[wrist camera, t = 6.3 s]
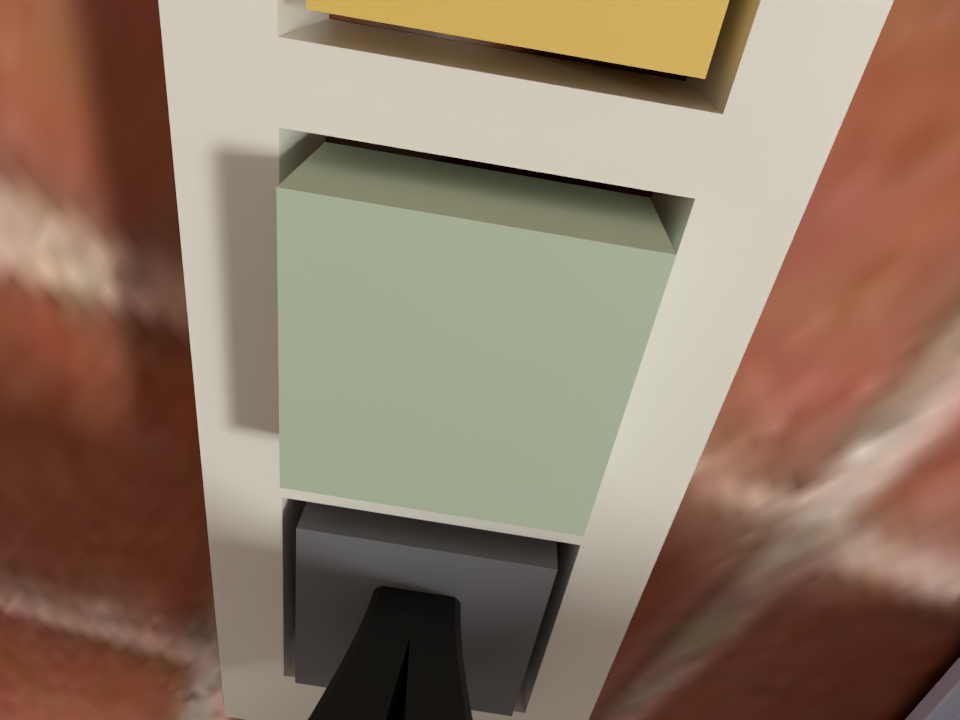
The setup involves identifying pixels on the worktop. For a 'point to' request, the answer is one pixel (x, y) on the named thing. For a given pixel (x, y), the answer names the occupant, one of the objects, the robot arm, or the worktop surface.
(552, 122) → the button panel
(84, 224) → the worktop surface
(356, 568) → the charcoal button
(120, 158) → the worktop surface
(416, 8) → the ochre button
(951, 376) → the worktop surface
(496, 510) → the sage button
